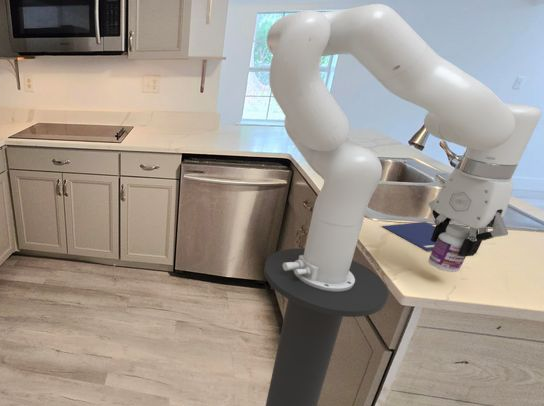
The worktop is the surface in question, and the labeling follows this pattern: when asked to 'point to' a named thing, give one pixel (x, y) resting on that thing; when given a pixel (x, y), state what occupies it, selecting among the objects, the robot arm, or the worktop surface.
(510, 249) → the worktop surface
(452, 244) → the pill bottle
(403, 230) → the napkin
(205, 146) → the worktop surface
